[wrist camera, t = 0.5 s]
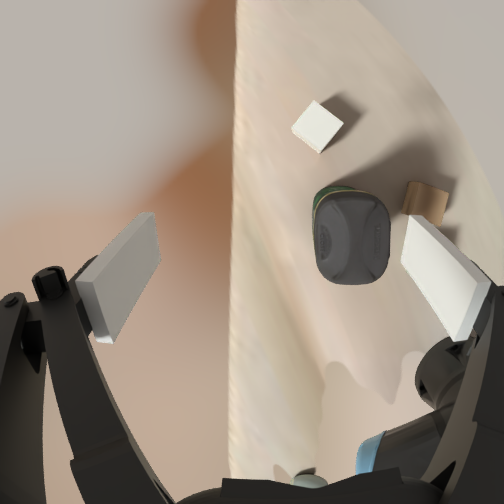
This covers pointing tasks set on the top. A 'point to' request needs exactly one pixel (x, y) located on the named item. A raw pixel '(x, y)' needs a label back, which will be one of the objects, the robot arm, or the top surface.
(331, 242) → the coffee jar
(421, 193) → the walnut block
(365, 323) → the top surface
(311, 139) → the off-white block
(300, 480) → the air freshener
